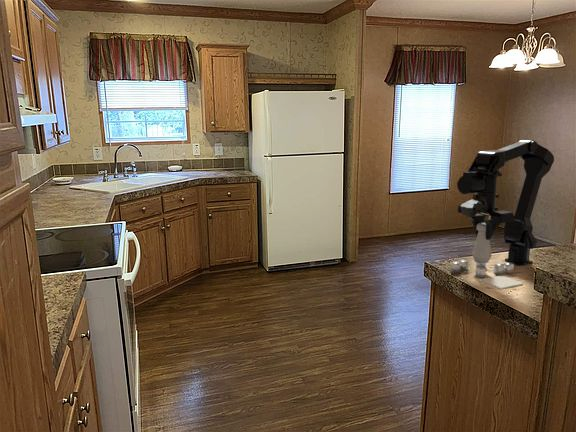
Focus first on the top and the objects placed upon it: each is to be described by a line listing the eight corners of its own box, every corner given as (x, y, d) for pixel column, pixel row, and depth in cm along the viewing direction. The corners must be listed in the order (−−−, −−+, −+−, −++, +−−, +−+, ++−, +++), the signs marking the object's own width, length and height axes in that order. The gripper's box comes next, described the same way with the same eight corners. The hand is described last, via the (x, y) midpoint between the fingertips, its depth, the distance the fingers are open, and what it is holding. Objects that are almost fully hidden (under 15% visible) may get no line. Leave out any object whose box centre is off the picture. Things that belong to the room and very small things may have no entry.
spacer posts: (488, 263, 159) (489, 254, 158) (515, 273, 149) (516, 264, 148) (447, 270, 153) (448, 261, 152) (472, 281, 142) (473, 272, 142)
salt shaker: (486, 258, 153) (488, 221, 150) (494, 264, 147) (497, 225, 145) (468, 259, 153) (471, 221, 150) (476, 264, 147) (479, 225, 144)
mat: (502, 276, 146) (502, 275, 146) (522, 284, 139) (523, 283, 139) (480, 280, 143) (480, 279, 143) (500, 289, 135) (500, 288, 135)
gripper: (446, 189, 151) (443, 234, 154) (489, 197, 134) (485, 248, 137) (472, 186, 155) (469, 230, 158) (517, 194, 138) (513, 244, 141)
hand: (483, 238), depth 148 cm, fingers closed on salt shaker, 4 cm apart
